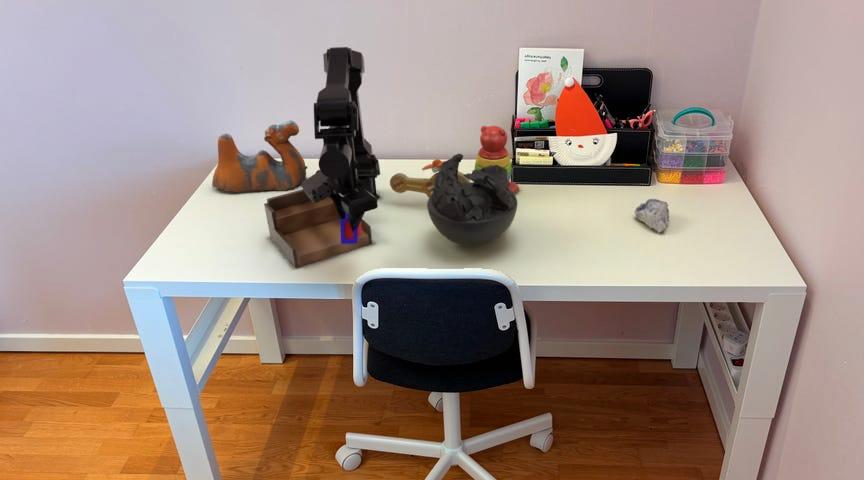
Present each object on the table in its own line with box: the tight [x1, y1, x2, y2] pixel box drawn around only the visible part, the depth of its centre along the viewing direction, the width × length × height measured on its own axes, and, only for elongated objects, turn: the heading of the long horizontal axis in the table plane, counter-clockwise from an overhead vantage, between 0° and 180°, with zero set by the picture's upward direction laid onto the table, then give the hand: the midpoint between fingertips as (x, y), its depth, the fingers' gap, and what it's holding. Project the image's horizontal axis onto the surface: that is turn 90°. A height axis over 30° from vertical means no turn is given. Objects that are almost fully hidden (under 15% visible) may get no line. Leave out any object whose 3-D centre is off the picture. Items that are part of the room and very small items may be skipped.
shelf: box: [263, 188, 373, 269], centre depth 166 cm, size 19×16×10 cm
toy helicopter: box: [389, 158, 471, 199], centre depth 178 cm, size 8×21×14 cm, turn 72°
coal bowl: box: [426, 153, 518, 247], centre depth 162 cm, size 20×20×19 cm
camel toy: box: [211, 120, 309, 194], centre depth 190 cm, size 25×13×17 cm, turn 82°
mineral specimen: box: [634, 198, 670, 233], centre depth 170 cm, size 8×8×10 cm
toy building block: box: [340, 212, 362, 244], centre depth 154 cm, size 4×4×8 cm
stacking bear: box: [474, 125, 520, 195], centre depth 183 cm, size 11×10×18 cm
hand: (349, 225), depth 154 cm, fingers closed on toy building block, 5 cm apart
